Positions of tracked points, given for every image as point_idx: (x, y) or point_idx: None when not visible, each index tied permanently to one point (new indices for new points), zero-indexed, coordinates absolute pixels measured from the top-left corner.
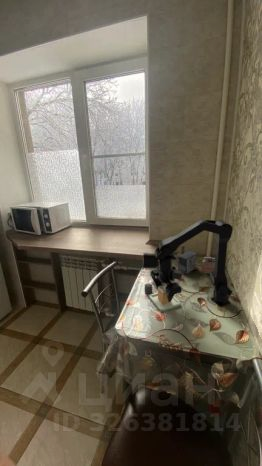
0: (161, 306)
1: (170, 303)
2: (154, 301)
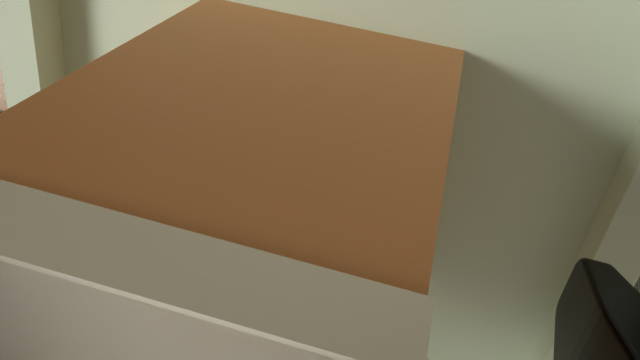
0: (445, 323)
1: (507, 107)
2: None
